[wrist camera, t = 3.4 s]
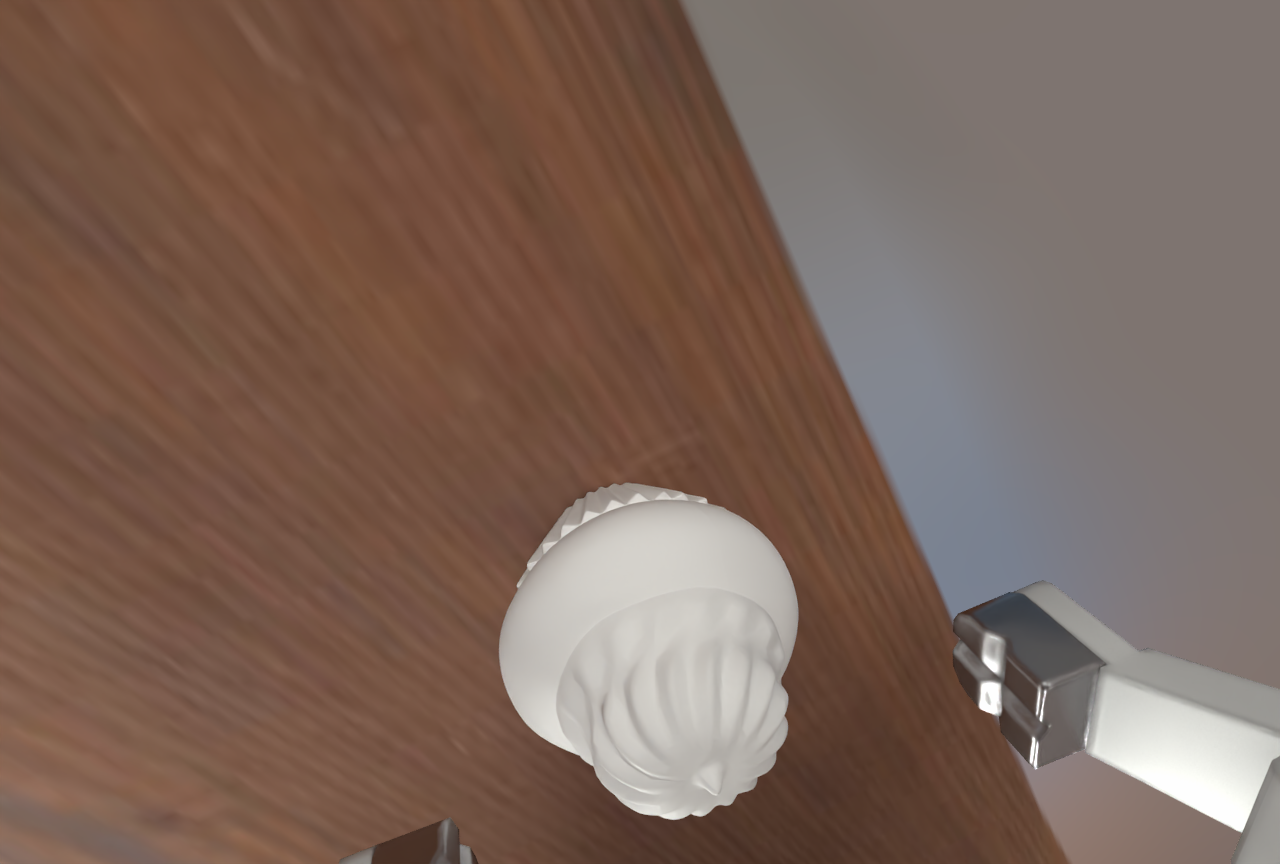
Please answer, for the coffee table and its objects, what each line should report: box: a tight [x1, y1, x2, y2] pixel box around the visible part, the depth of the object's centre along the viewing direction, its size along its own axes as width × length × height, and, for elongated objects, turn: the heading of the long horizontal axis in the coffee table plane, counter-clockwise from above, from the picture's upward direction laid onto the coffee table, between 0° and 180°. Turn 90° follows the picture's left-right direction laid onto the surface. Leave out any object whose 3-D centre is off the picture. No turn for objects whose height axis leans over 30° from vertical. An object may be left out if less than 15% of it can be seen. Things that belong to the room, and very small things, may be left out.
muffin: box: [499, 483, 798, 820], centre depth 13 cm, size 6×6×7 cm
